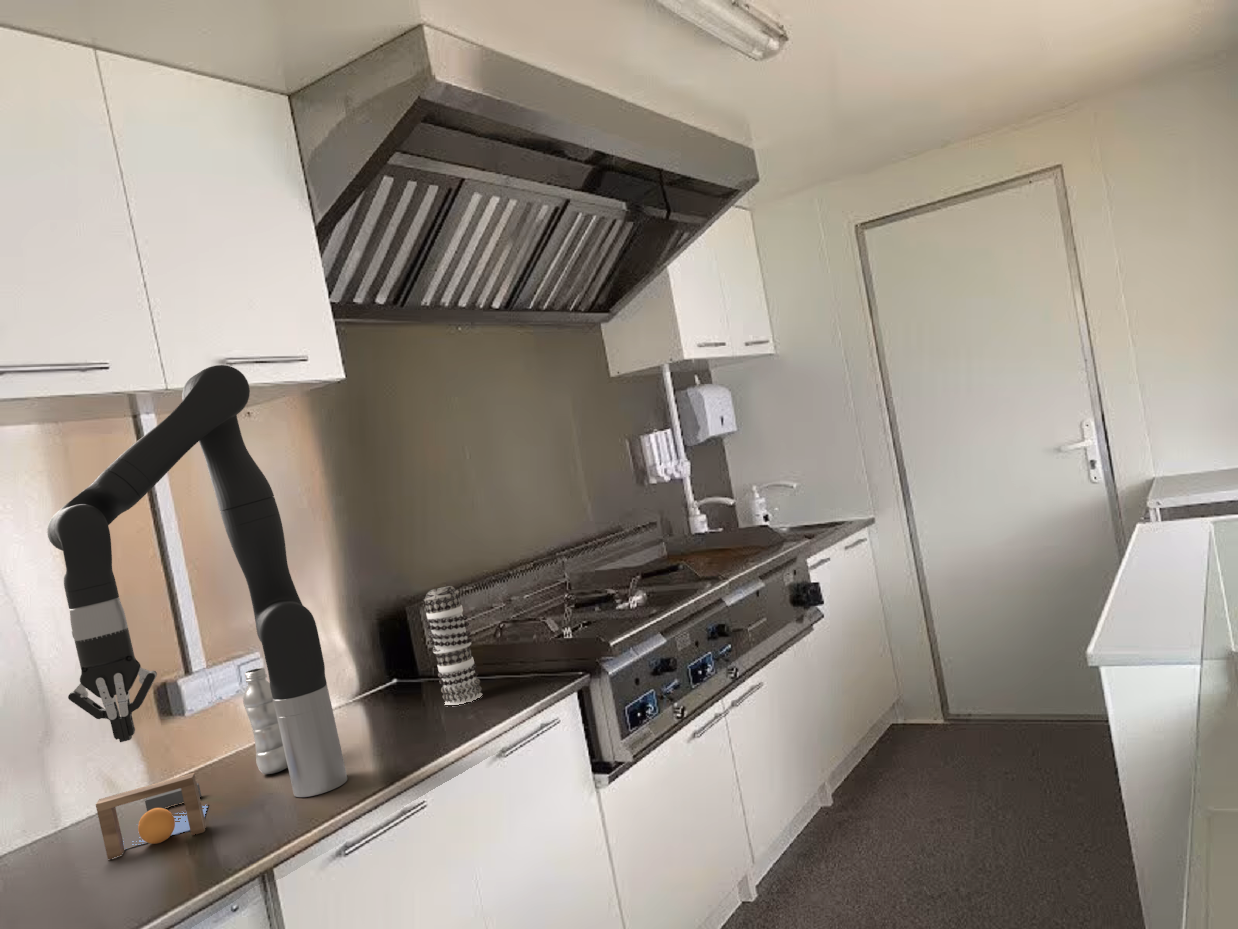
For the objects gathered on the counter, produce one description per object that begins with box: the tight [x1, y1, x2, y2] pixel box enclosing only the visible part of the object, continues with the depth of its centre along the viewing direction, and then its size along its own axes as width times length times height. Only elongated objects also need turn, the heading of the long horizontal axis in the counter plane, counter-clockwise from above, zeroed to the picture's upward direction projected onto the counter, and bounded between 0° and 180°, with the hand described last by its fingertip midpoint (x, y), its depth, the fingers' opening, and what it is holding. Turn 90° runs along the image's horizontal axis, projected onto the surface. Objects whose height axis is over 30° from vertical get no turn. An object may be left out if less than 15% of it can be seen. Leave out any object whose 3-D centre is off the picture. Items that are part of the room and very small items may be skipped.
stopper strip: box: [144, 782, 202, 812], centre depth 182 cm, size 2×9×2 cm, turn 108°
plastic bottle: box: [242, 667, 288, 775], centre depth 190 cm, size 6×7×20 cm
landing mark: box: [123, 804, 209, 849], centre depth 169 cm, size 13×13×1 cm
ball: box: [137, 808, 175, 845], centre depth 162 cm, size 6×6×6 cm
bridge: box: [95, 772, 207, 860], centre depth 162 cm, size 3×14×9 cm, turn 108°
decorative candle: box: [422, 585, 483, 706], centre depth 217 cm, size 9×9×25 cm
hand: (125, 740), depth 155 cm, fingers closed
